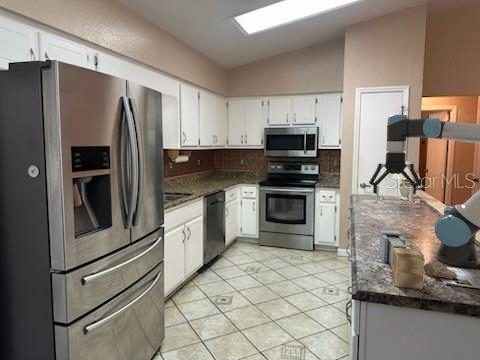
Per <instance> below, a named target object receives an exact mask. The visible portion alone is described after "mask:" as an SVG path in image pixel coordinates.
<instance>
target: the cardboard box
mask: <svg viewBox="0 0 480 360" xmlns="http://www.w3.org/2000/svg"><path fill="white" fill-rule="evenodd" d="M424 257H425V255H424V253H423V252H421V250H420V249H416V248H415V249H414V248H406V249H404V248H393V263H392V267H391V280H392V282H393V283H394V285H395V287H402V288H409V289H410V288H412V289H422V290H423V288H424V276H425V271H424V265H425V258H424Z"/></svg>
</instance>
